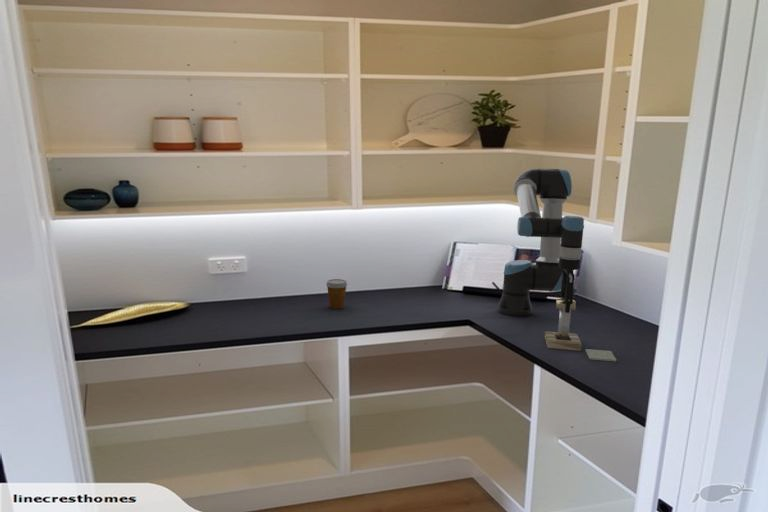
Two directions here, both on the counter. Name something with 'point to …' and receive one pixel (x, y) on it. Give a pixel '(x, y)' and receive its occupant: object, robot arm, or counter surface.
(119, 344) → the counter surface
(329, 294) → the orange pill bottle
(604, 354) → the rubber mat
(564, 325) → the steel peg
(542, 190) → the robot arm
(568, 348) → the plate
